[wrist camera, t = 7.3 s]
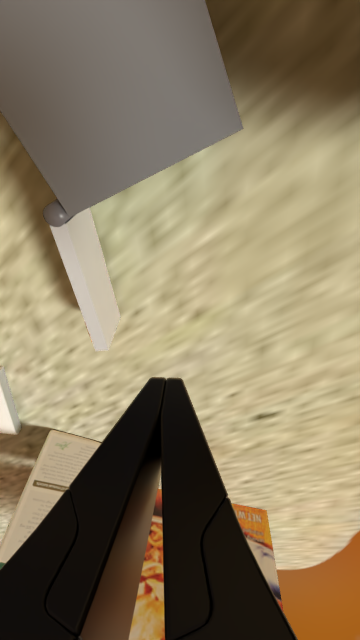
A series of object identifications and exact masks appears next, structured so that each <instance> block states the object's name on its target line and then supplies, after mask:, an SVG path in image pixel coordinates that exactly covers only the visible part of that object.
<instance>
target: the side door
mask: <svg viewBox="0 0 360 640" xmlns="http://www.w3.org/2000/svg"><path fill="white" fill-rule="evenodd" d="M43 216H44V219H45V220H46V222H47V223H48V224H49V225H50V228H51V231H52V233H53V236H54V239H55V242H56V244H57V247H58V250H59V252H60V255H61V258H62V261H63V263H64V266H65V269H66V272H67V274H68V277H69V280H70V282H71V285H72V288H73V291H74V293H75V296H76V299H77V302H78V304H79V307H80V310H81V312H82V315H83V318H84V321H85V325H86V327H87V330H88V333H89V336H90V338H91V341H92V342H93V345H94V348H95V351H107V350H109V348H110V345H111V342H112V340H113V337H114V334H115V331H116V329H117V326H118V323H119V320H120V318H121V316H120V313H119V309H118V306H117V302H116V298H115V295H114V291H113V288H112V284H111V281H110V277H109V274H108V270H107V267H106V263H105V260H104V256H103V253H102V249H101V246H100V242H99V238H98V235H97V231H96V228H95V224H94V221H93V217H92V214H91V210H90V207H89V208H87V209H85V210H83V211H82V212H80V213H78V214H76V215H74V216H72V217H69V215H68V214H67V212H66V211H65V209H64V208H63V206H62V205H61V203H60V202H59V200H58V199H56V200H55V201H53V202H52V203H50V204H49V205H47V206H46V207H45V208H44V210H43Z"/></svg>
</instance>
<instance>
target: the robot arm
mask: <svg viewBox="0 0 360 640" xmlns="http://www.w3.org/2000/svg"><path fill="white" fill-rule="evenodd" d="M160 475H161V484H162V531H163V578H164V625H165V640H298V639H297V637H296V636H295V634H294V632H293V630H292V628H291V626H290V624H289V622H288V620H287V618H286V616H285V614H284V613H283V611H282V609H281V607H280V605H279V603H278V601H277V599H276V597H275V595H274V593H273V592H272V590H271V588H270V586H269V584H268V582H267V580H266V578H265V576H264V574H263V572H262V570H261V568H260V566H259V564H258V562H257V560H256V558H255V556H254V554H253V552H252V550H251V548H250V546H249V544H248V542H247V539H246V537H245V535H244V532H243V530H242V528H241V525H240V523H239V521H238V518H237V516H236V514H235V511H234V508H233V506H232V503H231V501H230V499H229V498H228V494H227V491H226V489H225V486H224V484H223V481H222V479H221V476H220V473H219V471H218V468H217V466H216V463H215V461H214V458H213V456H212V453H211V451H210V448H209V446H208V443H207V440H206V438H205V435H204V433H203V430H202V428H201V425H200V423H199V420H198V418H197V415H196V413H195V410H194V407H193V405H192V402H191V400H190V397H189V395H188V392H187V390H186V387H185V385H184V382H183V380H182V379H181V378H167V380H166V378H164V377H152V378H150V379H149V380H148V382H147V383H146V384H145V386H144V387H143V388H142V390H141V391H140V392H139V394H138V395H137V396H136V398H135V399H134V400H133V402H132V403H131V404H130V406H129V407H128V408H127V410H126V411H125V412H124V414H123V415H122V416H121V418H120V419H119V420H118V422H117V423H116V424H115V426H114V427H113V428H112V430H111V431H110V432H109V434H108V435H107V436H106V438H105V439H104V440H103V441H102V443H101V444H100V445H99V447H98V448H97V449H96V451H95V452H94V453H93V455H92V456H91V457H90V459H89V460H88V461H87V463H86V464H85V465H84V467H83V468H82V469H81V471H80V472H79V473H78V475H77V476H76V477H75V479H74V480H73V481H72V483H71V484H70V485H69V489H66V490H65V492H64V493H63V494H62V496H61V497H60V498H59V500H58V501H57V502H56V504H55V505H54V506H53V508H52V509H51V510H50V511H49V513H48V514H47V515H46V516H45V518H44V519H43V520H42V521H41V523H40V524H39V525H38V526H37V528H36V529H35V530H34V531H33V532H32V534H31V535H30V536H29V537H28V538H27V539H26V541H25V542H24V543H23V544H22V545H21V546H20V547H19V549H18V550H17V551H16V552H15V553H14V554H13V555H12V557H11V558H10V559H9V560H8V561H7V562H6V563H5V564H4V566H3V567H2V568H1V569H0V640H129V635H130V630H131V624H132V619H133V614H134V609H135V604H136V599H137V594H138V588H139V583H140V578H141V573H142V568H143V563H144V558H145V553H146V547H147V542H148V537H149V532H150V527H151V522H152V517H153V511H154V506H155V501H156V496H157V491H158V486H159V481H160Z"/></svg>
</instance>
